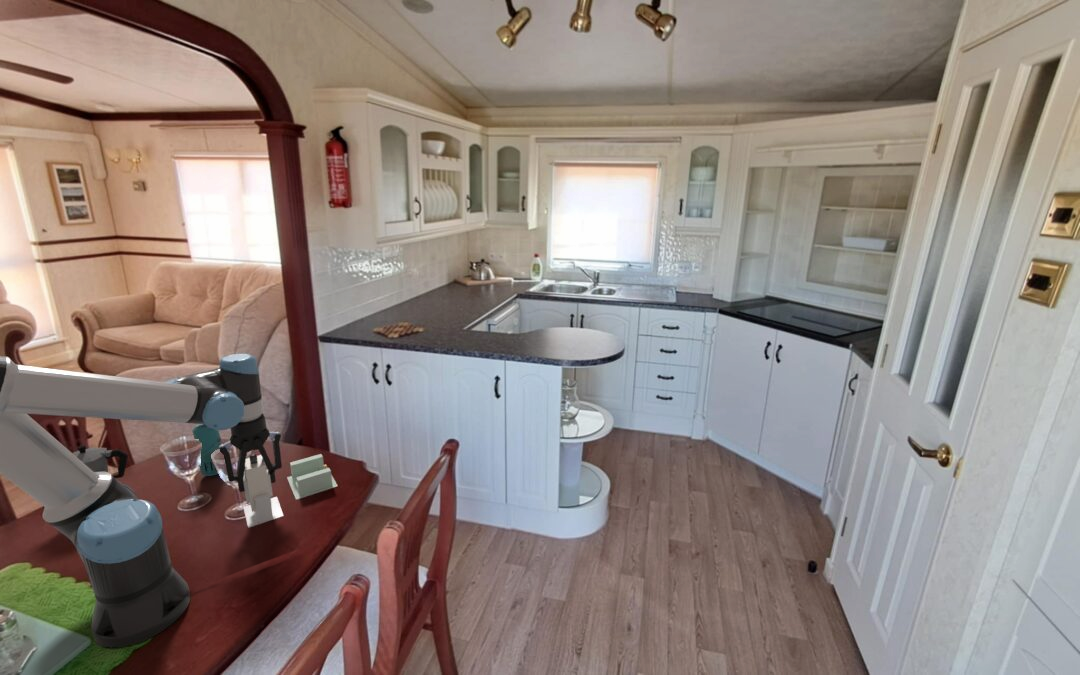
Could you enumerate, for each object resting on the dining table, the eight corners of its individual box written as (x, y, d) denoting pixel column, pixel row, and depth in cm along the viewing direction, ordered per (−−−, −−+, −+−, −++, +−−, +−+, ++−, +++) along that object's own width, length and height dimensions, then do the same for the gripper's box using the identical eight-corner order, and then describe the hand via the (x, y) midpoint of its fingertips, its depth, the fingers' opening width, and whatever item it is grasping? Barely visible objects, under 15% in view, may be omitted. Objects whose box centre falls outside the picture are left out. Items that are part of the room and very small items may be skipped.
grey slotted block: (284, 518, 123) (280, 492, 121) (248, 530, 119) (243, 503, 116) (277, 499, 131) (273, 474, 129) (243, 510, 126) (239, 484, 124)
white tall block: (271, 505, 122) (264, 457, 119) (252, 511, 120) (244, 463, 116) (267, 494, 127) (261, 447, 123) (248, 499, 124) (241, 452, 121)
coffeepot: (56, 521, 120) (36, 459, 115) (76, 499, 129) (59, 441, 124) (130, 509, 125) (115, 449, 120) (145, 489, 134) (131, 432, 129)
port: (338, 489, 136) (336, 470, 135) (296, 502, 130) (293, 483, 128) (326, 468, 146) (324, 451, 144) (287, 480, 140) (284, 462, 138)
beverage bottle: (203, 483, 137) (190, 421, 131) (199, 473, 142) (187, 413, 136) (229, 475, 141) (218, 414, 136) (225, 466, 146) (213, 407, 140)
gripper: (283, 402, 124) (293, 479, 131) (203, 418, 114) (218, 501, 121) (289, 412, 119) (299, 493, 125) (204, 430, 108) (220, 517, 115)
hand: (259, 497), depth 123 cm, fingers closed on white tall block, 4 cm apart
